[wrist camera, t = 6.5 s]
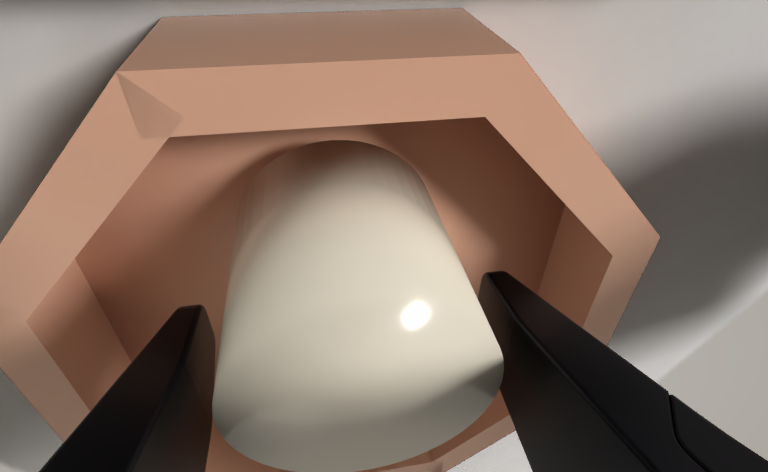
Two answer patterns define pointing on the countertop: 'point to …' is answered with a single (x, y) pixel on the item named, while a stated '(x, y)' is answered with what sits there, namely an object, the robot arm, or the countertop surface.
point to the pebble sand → (347, 317)
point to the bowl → (274, 138)
